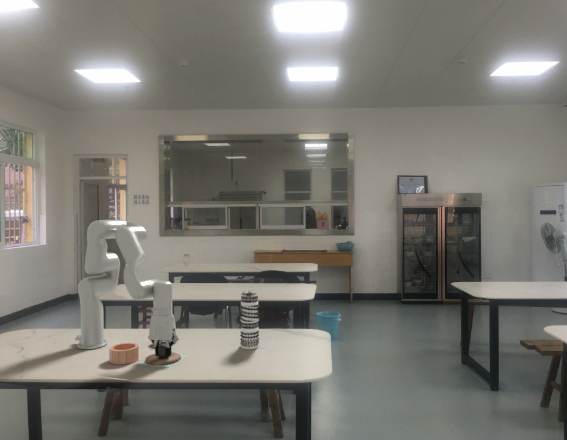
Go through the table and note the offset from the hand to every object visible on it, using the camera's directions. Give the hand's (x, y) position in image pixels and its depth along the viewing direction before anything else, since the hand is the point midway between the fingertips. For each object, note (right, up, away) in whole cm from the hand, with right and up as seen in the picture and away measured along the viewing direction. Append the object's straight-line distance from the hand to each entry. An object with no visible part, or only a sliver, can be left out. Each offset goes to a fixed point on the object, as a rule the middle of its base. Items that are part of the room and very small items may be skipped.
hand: (163, 355), depth 177 cm
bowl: (-16, -2, 0) cm, 16 cm away
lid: (0, -2, 0) cm, 2 cm away
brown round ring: (-5, -2, +23) cm, 24 cm away
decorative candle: (+34, -2, +19) cm, 39 cm away
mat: (0, -2, 0) cm, 2 cm away
